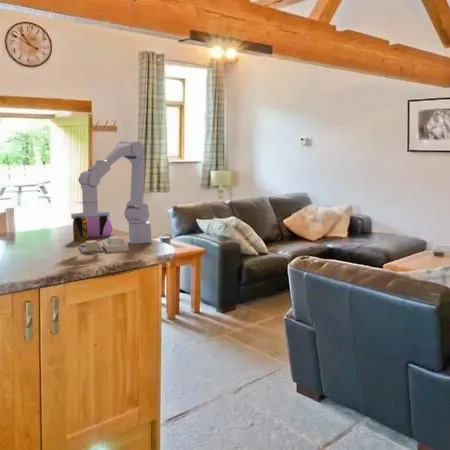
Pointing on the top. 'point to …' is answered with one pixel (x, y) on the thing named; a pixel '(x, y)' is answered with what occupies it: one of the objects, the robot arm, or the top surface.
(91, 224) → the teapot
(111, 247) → the cream dish
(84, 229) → the condiment
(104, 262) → the top surface
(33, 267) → the top surface
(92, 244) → the beige cube
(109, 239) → the light gray cube
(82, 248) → the slate tray
